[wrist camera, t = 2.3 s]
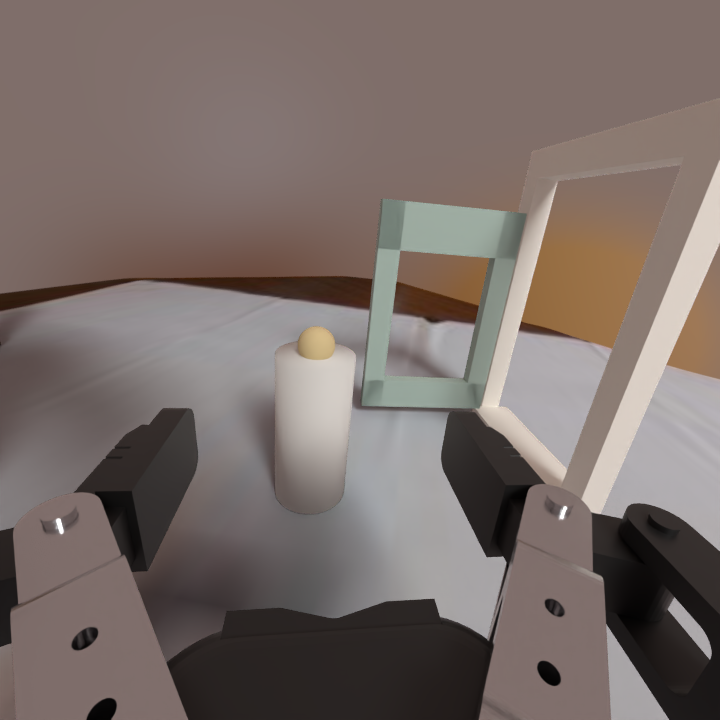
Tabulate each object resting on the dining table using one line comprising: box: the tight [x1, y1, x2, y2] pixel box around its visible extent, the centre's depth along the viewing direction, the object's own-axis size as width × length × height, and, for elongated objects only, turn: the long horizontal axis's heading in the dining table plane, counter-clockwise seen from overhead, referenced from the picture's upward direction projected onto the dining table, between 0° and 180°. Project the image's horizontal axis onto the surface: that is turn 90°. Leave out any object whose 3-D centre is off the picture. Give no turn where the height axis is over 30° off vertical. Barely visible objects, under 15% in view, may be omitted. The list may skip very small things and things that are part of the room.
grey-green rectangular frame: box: [361, 199, 527, 409], centre depth 36 cm, size 13×3×20 cm, turn 96°
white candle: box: [275, 326, 356, 514], centre depth 25 cm, size 5×5×13 cm
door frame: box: [472, 98, 720, 514], centre depth 30 cm, size 4×18×26 cm, turn 6°
